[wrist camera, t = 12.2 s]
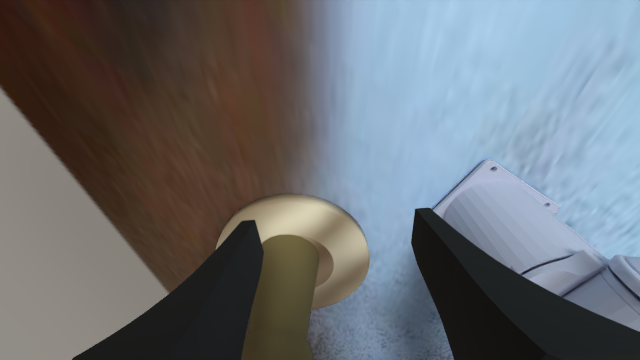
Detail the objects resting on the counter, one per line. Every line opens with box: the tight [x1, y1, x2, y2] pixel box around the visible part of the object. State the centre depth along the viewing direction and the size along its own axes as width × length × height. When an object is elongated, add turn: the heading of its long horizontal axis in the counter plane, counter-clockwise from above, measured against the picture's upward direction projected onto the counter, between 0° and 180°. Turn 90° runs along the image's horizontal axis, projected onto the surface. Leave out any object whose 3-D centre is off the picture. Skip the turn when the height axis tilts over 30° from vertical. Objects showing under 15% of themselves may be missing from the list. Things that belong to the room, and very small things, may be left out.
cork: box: [241, 234, 319, 360], centre depth 21 cm, size 6×6×11 cm
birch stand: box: [216, 194, 370, 310], centre depth 27 cm, size 15×15×2 cm
